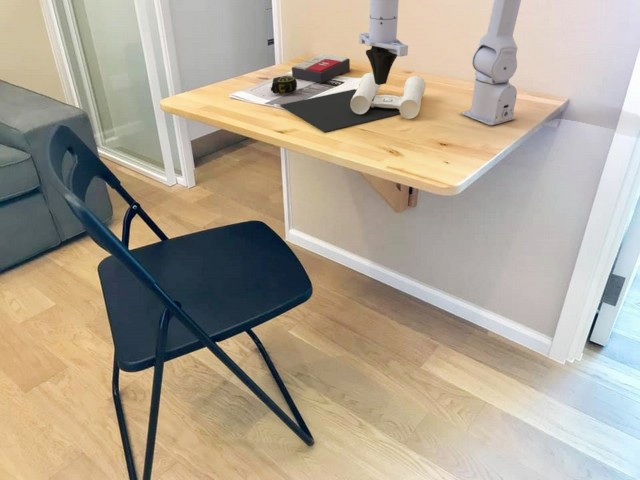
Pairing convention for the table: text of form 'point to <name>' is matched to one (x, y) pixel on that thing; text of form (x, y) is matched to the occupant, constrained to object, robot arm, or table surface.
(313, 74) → the grey and red box
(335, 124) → the mat
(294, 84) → the tape measure
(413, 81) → the binoculars
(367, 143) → the table surface
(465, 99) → the table surface
